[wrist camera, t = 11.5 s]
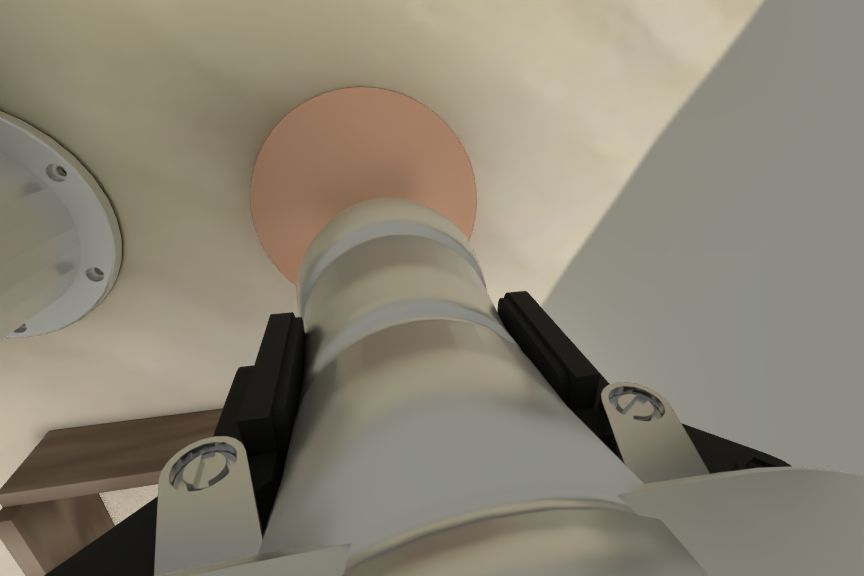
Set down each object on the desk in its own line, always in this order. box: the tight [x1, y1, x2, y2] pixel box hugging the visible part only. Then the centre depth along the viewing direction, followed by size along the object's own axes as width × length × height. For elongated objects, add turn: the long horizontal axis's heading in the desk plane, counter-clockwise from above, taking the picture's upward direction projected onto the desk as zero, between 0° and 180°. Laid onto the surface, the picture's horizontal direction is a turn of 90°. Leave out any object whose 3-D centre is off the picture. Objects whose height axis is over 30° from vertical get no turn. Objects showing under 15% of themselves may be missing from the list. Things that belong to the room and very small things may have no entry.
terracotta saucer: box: [250, 87, 477, 286], centre depth 25 cm, size 13×13×1 cm
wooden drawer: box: [0, 409, 223, 576], centre depth 29 cm, size 16×16×9 cm
